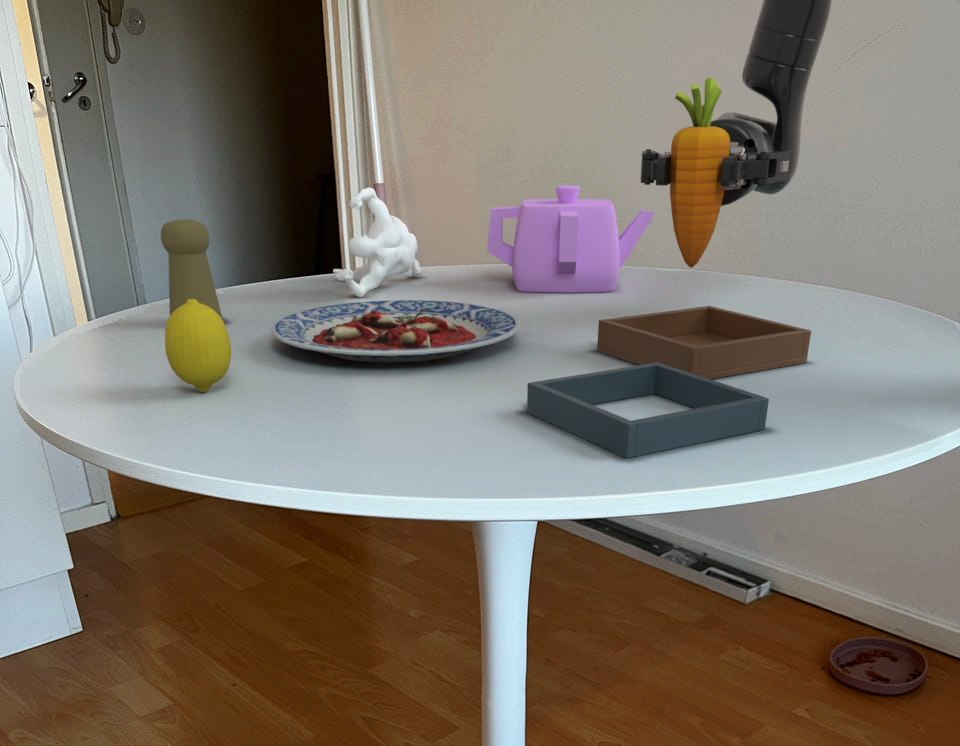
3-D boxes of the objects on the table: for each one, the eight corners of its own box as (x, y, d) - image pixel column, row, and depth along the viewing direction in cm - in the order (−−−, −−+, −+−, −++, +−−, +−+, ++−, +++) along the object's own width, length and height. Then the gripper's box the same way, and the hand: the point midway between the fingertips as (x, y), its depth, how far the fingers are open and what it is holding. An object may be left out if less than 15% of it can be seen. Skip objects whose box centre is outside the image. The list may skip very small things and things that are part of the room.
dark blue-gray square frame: (655, 390, 89) (658, 362, 88) (765, 429, 79) (769, 398, 78) (526, 412, 83) (527, 382, 82) (626, 458, 73) (629, 424, 72)
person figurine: (339, 194, 138) (353, 179, 121) (429, 214, 141) (455, 201, 124) (326, 293, 141) (338, 291, 125) (415, 310, 145) (438, 310, 128)
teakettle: (476, 285, 137) (476, 186, 131) (560, 270, 147) (563, 178, 141) (570, 301, 126) (574, 194, 120) (653, 285, 137) (661, 185, 131)
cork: (185, 330, 112) (170, 224, 107) (160, 322, 116) (144, 220, 111) (233, 323, 116) (221, 220, 110) (207, 315, 120) (194, 215, 114)
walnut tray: (706, 335, 109) (709, 305, 108) (806, 362, 98) (811, 330, 96) (596, 351, 103) (598, 319, 101) (691, 382, 92) (694, 348, 90)
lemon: (220, 380, 93) (209, 290, 89) (246, 393, 89) (235, 300, 85) (162, 390, 90) (148, 297, 86) (186, 404, 86) (172, 307, 82)
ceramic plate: (453, 387, 91) (452, 353, 89) (221, 359, 100) (217, 329, 99) (556, 331, 111) (556, 303, 110) (355, 312, 121) (353, 286, 119)
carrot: (687, 273, 88) (702, 76, 81) (652, 266, 92) (663, 78, 85) (730, 268, 90) (749, 76, 83) (694, 262, 94) (708, 78, 87)
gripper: (656, 119, 99) (612, 122, 86) (807, 117, 95) (785, 121, 81) (651, 201, 103) (608, 218, 89) (796, 203, 98) (774, 221, 84)
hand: (693, 171), depth 85 cm, fingers closed on carrot, 5 cm apart
